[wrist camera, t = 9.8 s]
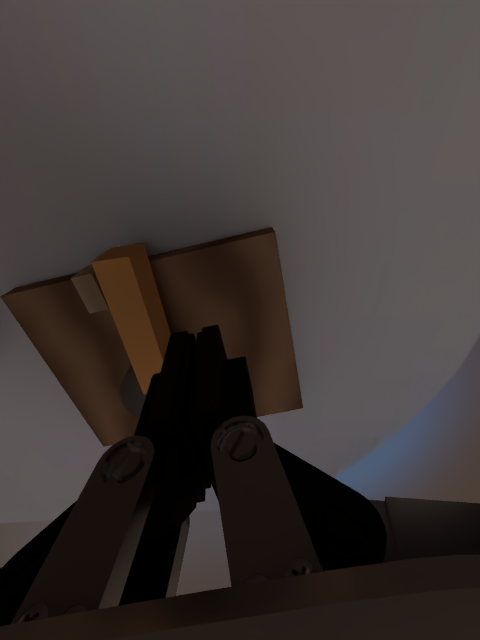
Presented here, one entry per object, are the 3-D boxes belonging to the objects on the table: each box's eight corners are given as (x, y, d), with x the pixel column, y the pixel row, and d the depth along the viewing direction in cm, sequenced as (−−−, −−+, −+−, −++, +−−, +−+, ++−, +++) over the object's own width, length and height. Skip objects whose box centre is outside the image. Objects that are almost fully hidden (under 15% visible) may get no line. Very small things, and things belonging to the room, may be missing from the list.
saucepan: (212, 396, 28) (211, 425, 25) (143, 405, 28) (132, 435, 25) (174, 238, 21) (165, 251, 17) (80, 252, 21) (54, 267, 18)
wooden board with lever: (109, 432, 35) (93, 470, 31) (10, 279, 26) (-35, 302, 21) (298, 395, 34) (309, 429, 30) (270, 217, 24) (279, 228, 20)
